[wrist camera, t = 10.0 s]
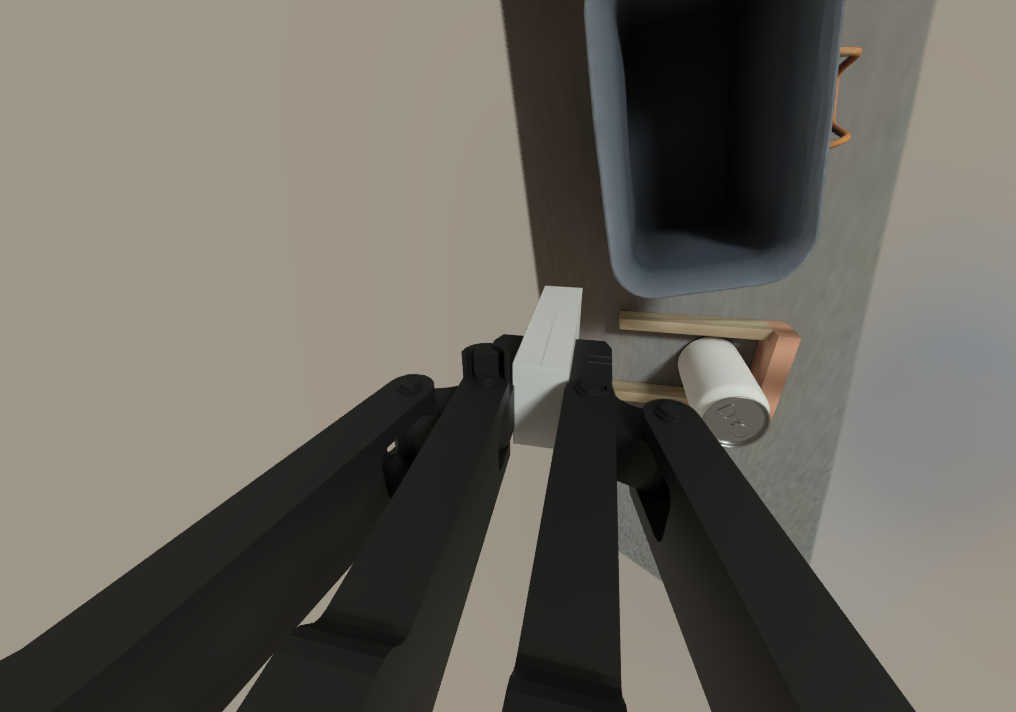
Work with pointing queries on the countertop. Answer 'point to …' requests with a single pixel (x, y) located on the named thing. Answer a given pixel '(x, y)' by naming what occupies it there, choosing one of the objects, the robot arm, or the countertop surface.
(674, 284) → the storage bin
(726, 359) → the can
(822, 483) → the countertop surface
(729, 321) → the guide lane
